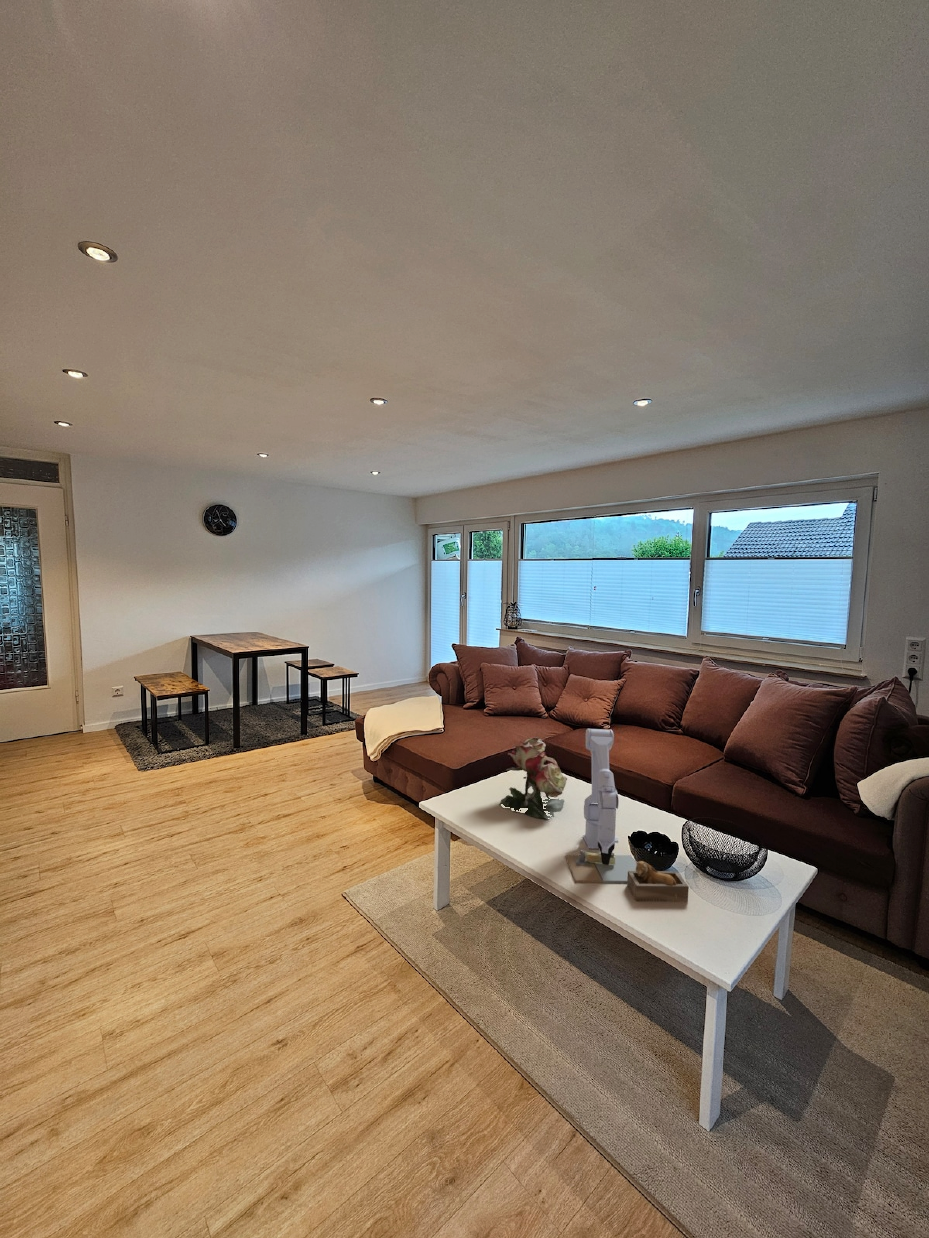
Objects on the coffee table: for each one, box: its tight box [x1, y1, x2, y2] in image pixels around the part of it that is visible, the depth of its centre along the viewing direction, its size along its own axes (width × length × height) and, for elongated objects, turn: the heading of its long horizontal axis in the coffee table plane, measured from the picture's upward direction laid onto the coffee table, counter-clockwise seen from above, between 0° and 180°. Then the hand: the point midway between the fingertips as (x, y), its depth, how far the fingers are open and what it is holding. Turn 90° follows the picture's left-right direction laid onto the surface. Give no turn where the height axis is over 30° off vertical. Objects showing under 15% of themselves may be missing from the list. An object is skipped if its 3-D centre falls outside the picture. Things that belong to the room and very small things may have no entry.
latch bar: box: [586, 851, 616, 865], centre depth 180 cm, size 10×2×3 cm, turn 79°
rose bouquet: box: [496, 736, 568, 821], centre depth 228 cm, size 26×29×30 cm
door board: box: [564, 849, 637, 884], centre depth 178 cm, size 16×24×4 cm, turn 91°
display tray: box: [626, 870, 690, 903], centre depth 165 cm, size 8×16×5 cm, turn 91°
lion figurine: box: [636, 860, 677, 902], centre depth 165 cm, size 15×5×9 cm, turn 66°
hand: (605, 863), depth 178 cm, fingers closed, pressing on latch bar
